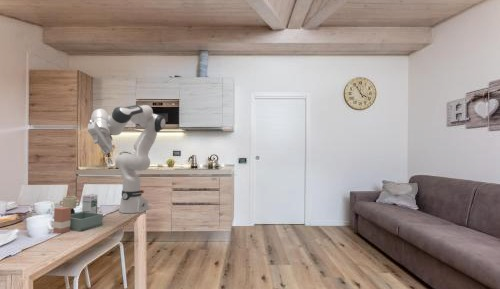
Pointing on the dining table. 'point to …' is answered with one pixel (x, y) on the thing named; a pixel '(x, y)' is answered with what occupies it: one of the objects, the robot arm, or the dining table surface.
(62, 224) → the salmon pink two-tone box
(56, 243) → the dining table surface
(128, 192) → the robot arm
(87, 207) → the syrup box
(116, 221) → the dining table surface
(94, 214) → the tray
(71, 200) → the character mug
